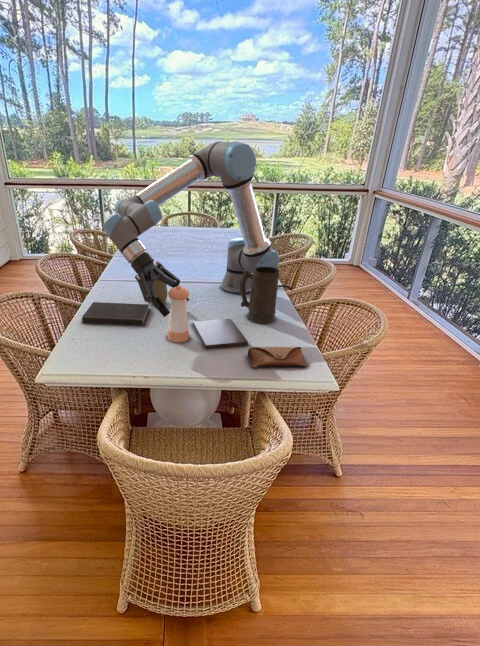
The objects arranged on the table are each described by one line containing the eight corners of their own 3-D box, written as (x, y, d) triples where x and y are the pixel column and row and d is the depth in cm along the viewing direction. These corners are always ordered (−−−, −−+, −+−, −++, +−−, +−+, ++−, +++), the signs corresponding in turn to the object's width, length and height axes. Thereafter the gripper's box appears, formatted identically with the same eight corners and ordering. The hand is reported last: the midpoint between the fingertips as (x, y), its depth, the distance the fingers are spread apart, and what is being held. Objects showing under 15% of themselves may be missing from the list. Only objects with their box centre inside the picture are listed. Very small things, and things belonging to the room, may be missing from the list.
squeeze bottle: (164, 307, 164) (164, 264, 155) (146, 305, 165) (144, 263, 156) (169, 300, 171) (169, 259, 162) (151, 299, 172) (150, 257, 163)
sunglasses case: (253, 368, 122) (252, 346, 122) (247, 368, 129) (247, 347, 129) (309, 366, 124) (308, 345, 124) (300, 366, 131) (300, 346, 131)
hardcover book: (93, 307, 162) (93, 301, 161) (149, 309, 162) (149, 304, 160) (82, 323, 149) (81, 317, 147) (143, 325, 148) (142, 320, 147)
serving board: (230, 322, 153) (230, 318, 152) (247, 345, 136) (248, 341, 136) (192, 324, 150) (192, 321, 149) (205, 349, 133) (206, 345, 132)
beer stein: (278, 315, 160) (282, 266, 150) (274, 325, 151) (278, 274, 141) (241, 312, 165) (242, 264, 155) (235, 321, 156) (236, 271, 146)
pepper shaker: (189, 334, 143) (190, 283, 133) (187, 343, 137) (188, 290, 127) (169, 332, 143) (169, 281, 134) (166, 341, 137) (166, 288, 127)
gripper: (152, 256, 144) (187, 302, 146) (110, 273, 125) (151, 326, 127) (164, 243, 140) (200, 291, 142) (122, 259, 120) (165, 315, 122)
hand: (177, 308), depth 134 cm, fingers open, 13 cm apart
